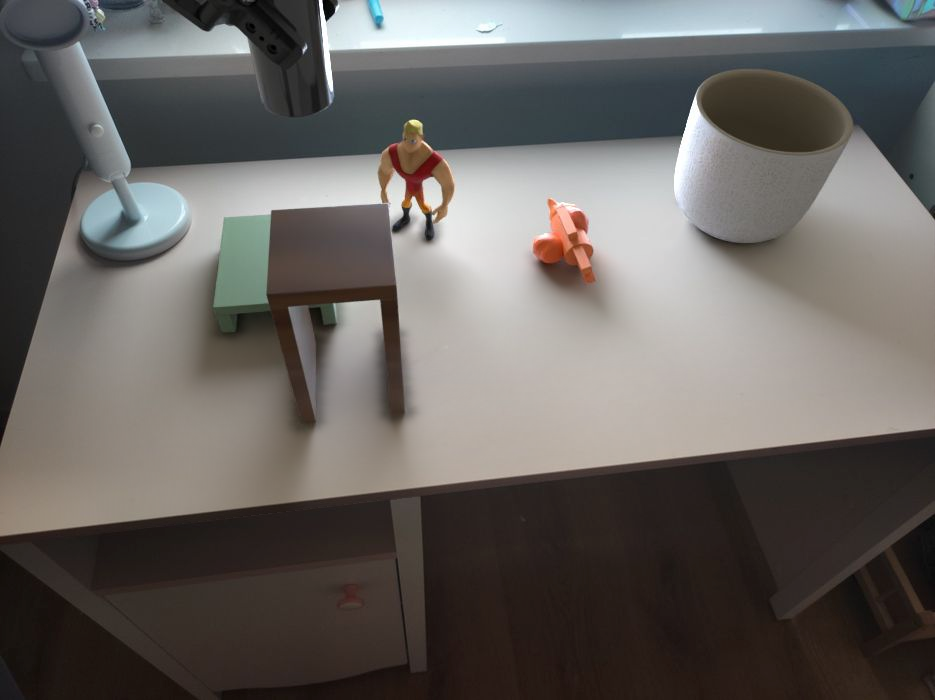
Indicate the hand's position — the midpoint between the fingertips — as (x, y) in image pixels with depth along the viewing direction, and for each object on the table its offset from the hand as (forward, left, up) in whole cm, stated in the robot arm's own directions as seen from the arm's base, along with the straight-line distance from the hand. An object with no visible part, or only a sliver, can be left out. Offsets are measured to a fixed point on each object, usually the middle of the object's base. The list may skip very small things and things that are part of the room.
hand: (313, 36), depth 45 cm
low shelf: (+5, +15, -35) cm, 38 cm away
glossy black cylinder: (-1, +2, -5) cm, 5 cm away
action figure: (+21, +8, -35) cm, 42 cm away
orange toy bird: (+27, -9, -35) cm, 45 cm away
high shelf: (-1, 0, -35) cm, 35 cm away
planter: (+46, -23, -35) cm, 62 cm away
